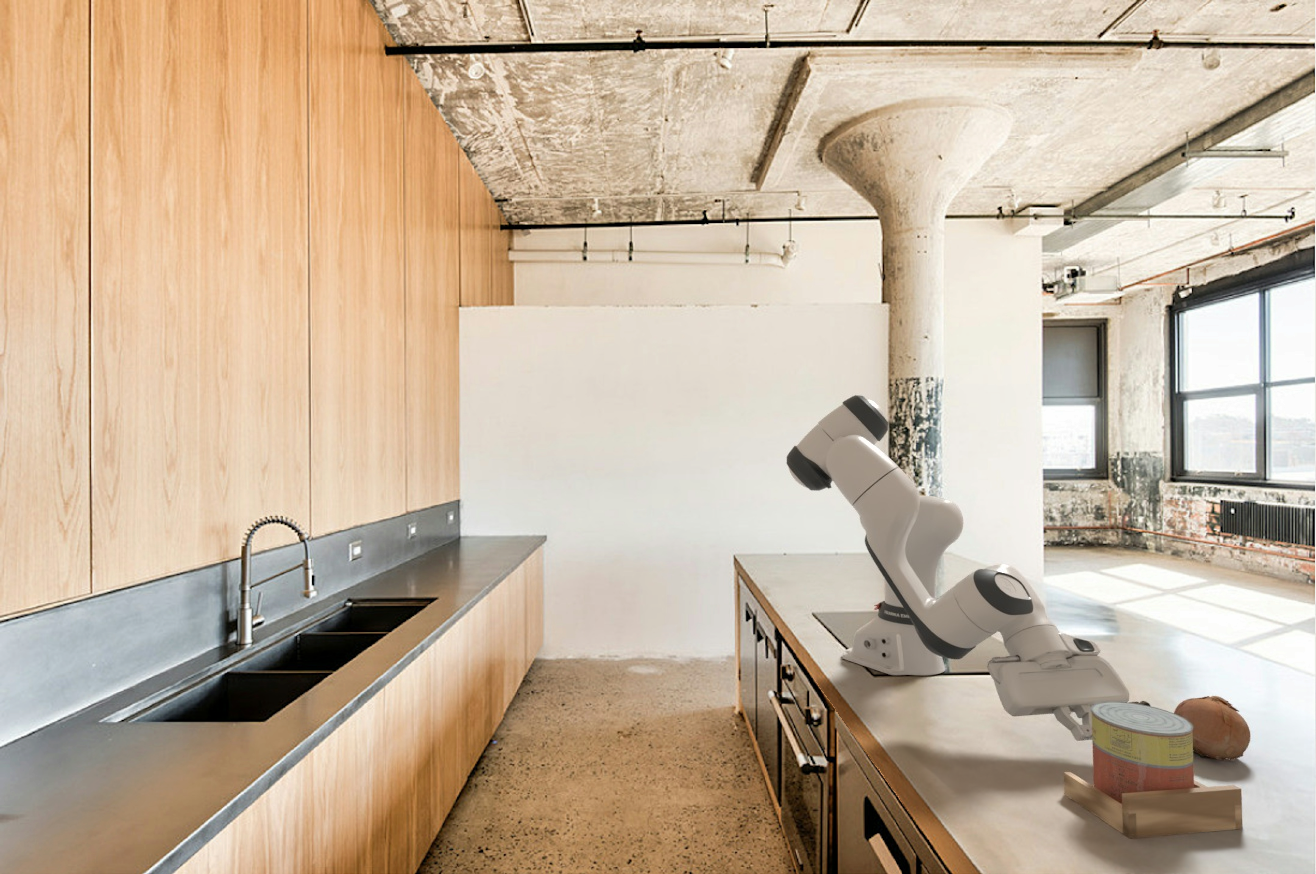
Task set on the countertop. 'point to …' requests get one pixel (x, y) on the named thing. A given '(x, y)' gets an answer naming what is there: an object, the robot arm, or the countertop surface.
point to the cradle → (1162, 808)
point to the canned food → (1140, 749)
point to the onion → (1215, 727)
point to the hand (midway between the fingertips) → (1088, 738)
